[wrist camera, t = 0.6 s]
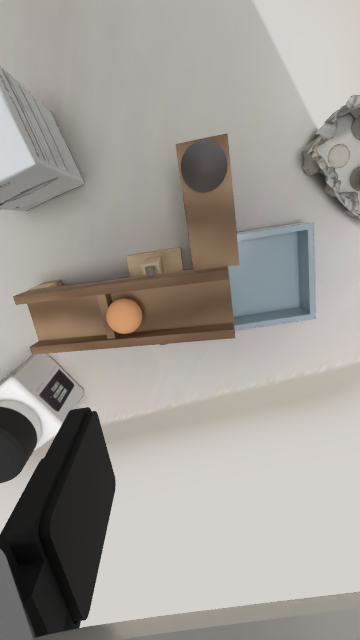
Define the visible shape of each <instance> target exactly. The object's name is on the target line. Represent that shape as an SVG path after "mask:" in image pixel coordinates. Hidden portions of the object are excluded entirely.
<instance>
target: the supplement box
mask: <svg viewBox="0 0 360 640" xmlns="http://www.w3.org/2000/svg"><path fill="white" fill-rule="evenodd" d="M84 184H85V183H84V181H83V179H82V177H81V175H80V172H79V170H78V168H77V166H76V164H75V162H74V160H73V158H72V155H71V153H70V151H69V149H68V147H67V145H66V143H65V140H64V138H63V136H62V134H61V132H60V130H59V128H58V125H57V123H56V121H55V119H54V117H53V115H52V113H51V112H50V111H49V110H48V109H47V108H46V107H45V106H44V105H43V104H42V103H41V102H40V101H39V100H38V99H36V98H35V97H34V96H33V95H32V94H31V93H30V92H29V91H28V90H27V89H25V88H24V87H23V86H22V85H21V84H20V83H19V82H18V81H17V80H16V79H14V78H13V77H12V76H11V75H10V74H9V73H8V72H7V71H6V70H4V69H3V68H2V67H1V66H0V209H5V210H18V211H27V210H29V209H31V208H33V207H35V206H37V205H39V204H41V203H43V202H45V201H47V200H49V199H51V198H54V197H56V196H58V195H60V194H63V193H65V192H67V191H69V190H72V189H74V188H77V187H79V186H82V185H84Z"/></svg>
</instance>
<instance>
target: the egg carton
mask: <svg viewBox="0 0 360 640" xmlns="http://www.w3.org/2000/svg"><path fill="white" fill-rule="evenodd" d="M351 131H352V133H353V135H354V137H355V138H356V139H359V140H360V95H353V96H351V97H350V98H349V99H348V101H347V103H346V105H345V106H343V107H341V108H340V109H339V110H337V111H336V112H335V113H333V114H332V115H331V116H330V117H329V119H328V120H327V121H325V124H324V125H323V126H322V127H321V128H320V129H319V130H318V131H317V132H316V134H315V135H318V137H317V138H316V139H315V140H314V141H312V142H310V143H309V144H307V145H306V146H305V148H304V149H303V150H302V154H303V157H304V165H303V167H302V169H303V171H304V172H305V173H306V174H307V175H310V176H311V175H312V174H315V173H317V172H319V173H321V174H323V175H324V176H325V178H326V180H325V181H326V187H325V189H324V192H326V193H327V194H329V195H330V196H333V197H335V196H337V198H338V199H339V201H340V202H341V203H342V204H343V205H344V206H345V207H346V210H345V212H346V214H347V215H348V216H350V217H354V216H357V217H359V219H360V214H357V211H358V205H359V201H358V197H357V196H358V193H356V192H343V193H338V190H339V188H340V183H341V181H340V180H338V174H337V173H336V172H335V168H341V167H343V166H345V165H346V164H347V162H348V160H349V157H350V152H349V149H348V147H347V146H346V145H344V144H338V145H335V146H333V147H332V148H331V150H330V151H329V154H328V162H329V164H330V166H332V167H334V168H332V167H328V166H327V163H326V162H325V160H324V159H323V158H322V157H321V156H320V155H319V154H318V152H317V145H320V144H322V143H324V142H326V141H328V140H338V139H341V138H343V137H344V136H345V135H347V134H348V133H350V132H351ZM350 184H351V187H352V188H353V189H355V190H360V167H358V168H356V169H355V170H354V171H353V172H352V174H351V176H350Z"/></svg>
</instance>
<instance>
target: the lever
mask: <svg viewBox="0 0 360 640" xmlns="http://www.w3.org/2000/svg"><path fill="white" fill-rule="evenodd" d="M176 150H177V157H178V164H179V171H180V178H181V185H182V192H183V199H184V207H185V214H186V221H187V228H188V235H189V242H190V249H191V256H192V264H193V269H190V270H182V271H175V272H167V273H159V274H156V271H155V266H148V267H145V271H146V275H143V276H136V277H128V278H120V279H112V280H104V281H97V282H89V283H81V284H73V285H65V286H57V287H50V288H42V289H34V290H29V291H26V292H24V293H21V294H19V295H16V296H13V297H14V301H15V304H16V305H18V304H26V303H27V304H28V307H29V310H30V314H31V317H32V320H33V323H34V326H35V329H36V333H37V336H38V339H39V341H38V342H37V343H35V344H34V345H32V346H31V347H30V349H31V352H32V355H33V354H45V353H57V352H70V351H82V350H94V349H106V348H118V347H131V346H143V345H155V344H160V345H166V344H168V343H180V342H192V341H204V340H216V339H228V338H235V326H234V317H233V307H232V298H231V288H230V279H229V269H228V266H236V265H240V264H239V253H238V242H237V232H236V221H235V210H234V200H233V189H232V178H231V168H230V157H229V147H228V136H227V134H223V135H218V136H213V137H209V138H204V139H199V140H194V141H190V142H185V143H180V144H176ZM122 298H127V299H131V300H133V301H135V302H136V303H137V304H138V305H139V306H140V308H141V310H142V322H141V324H140V326H139V327H138V328H137V329H136V330H135V331H133V332H131V333H127V334H121V333H118V332H116V331H114V330H113V329H112V328H111V327H110V326H109V324H108V322H107V318H106V314H107V310H108V308H109V306H110V305H111V304H112V303H113V302H114V301H116V300H118V299H122Z"/></svg>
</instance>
